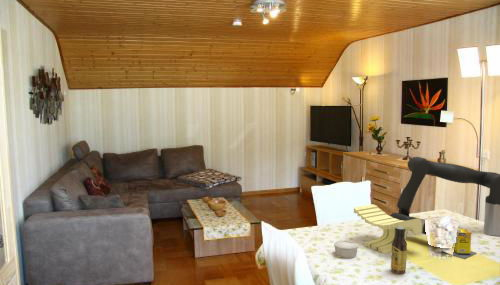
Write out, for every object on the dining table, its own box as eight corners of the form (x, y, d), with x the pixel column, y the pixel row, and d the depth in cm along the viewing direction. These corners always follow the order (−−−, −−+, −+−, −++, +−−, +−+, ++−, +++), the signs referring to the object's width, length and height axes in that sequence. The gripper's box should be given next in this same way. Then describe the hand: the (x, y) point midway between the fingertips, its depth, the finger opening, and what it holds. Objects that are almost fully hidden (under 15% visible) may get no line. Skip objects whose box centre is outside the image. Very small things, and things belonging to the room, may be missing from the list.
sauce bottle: (388, 268, 183) (389, 225, 181) (402, 268, 184) (403, 224, 182) (394, 275, 177) (395, 229, 175) (408, 274, 177) (410, 229, 175)
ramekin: (358, 251, 204) (358, 241, 203) (356, 260, 193) (357, 249, 193) (335, 249, 207) (335, 239, 207) (332, 257, 197) (332, 247, 196)
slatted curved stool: (420, 253, 200) (422, 217, 199) (396, 259, 193) (397, 222, 191) (376, 235, 227) (376, 203, 225) (353, 240, 220) (353, 207, 218)
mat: (453, 247, 208) (453, 246, 208) (476, 253, 199) (476, 252, 199) (441, 252, 201) (441, 251, 201) (464, 259, 192) (464, 258, 192)
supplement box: (470, 255, 196) (471, 232, 195) (457, 254, 196) (458, 232, 195) (465, 250, 202) (466, 228, 200) (452, 250, 202) (453, 228, 201)
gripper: (418, 222, 208) (450, 230, 195) (434, 217, 217) (465, 225, 204) (418, 237, 209) (449, 246, 196) (433, 231, 217) (464, 239, 204)
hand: (457, 235), depth 200 cm, fingers open, 8 cm apart
